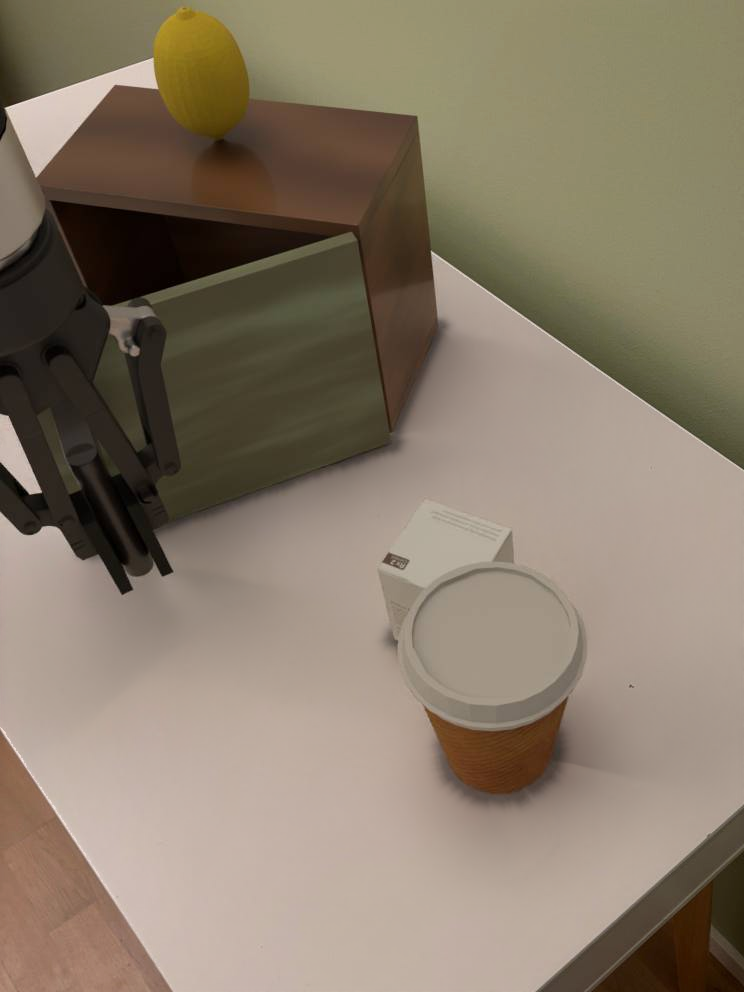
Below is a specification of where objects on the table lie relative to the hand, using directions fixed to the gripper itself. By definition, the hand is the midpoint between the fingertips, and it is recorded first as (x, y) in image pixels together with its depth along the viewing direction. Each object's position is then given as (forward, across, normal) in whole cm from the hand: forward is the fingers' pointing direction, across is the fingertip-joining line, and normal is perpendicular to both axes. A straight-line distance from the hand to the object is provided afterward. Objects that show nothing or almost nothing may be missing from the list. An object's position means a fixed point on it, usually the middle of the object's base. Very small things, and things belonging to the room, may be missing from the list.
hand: (140, 567), depth 64 cm
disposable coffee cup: (+5, -14, +20) cm, 25 cm away
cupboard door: (+4, -8, -3) cm, 10 cm away
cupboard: (+5, -16, -18) cm, 25 cm away
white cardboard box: (+5, -16, +11) cm, 20 cm away
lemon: (-12, -16, -20) cm, 28 cm away
